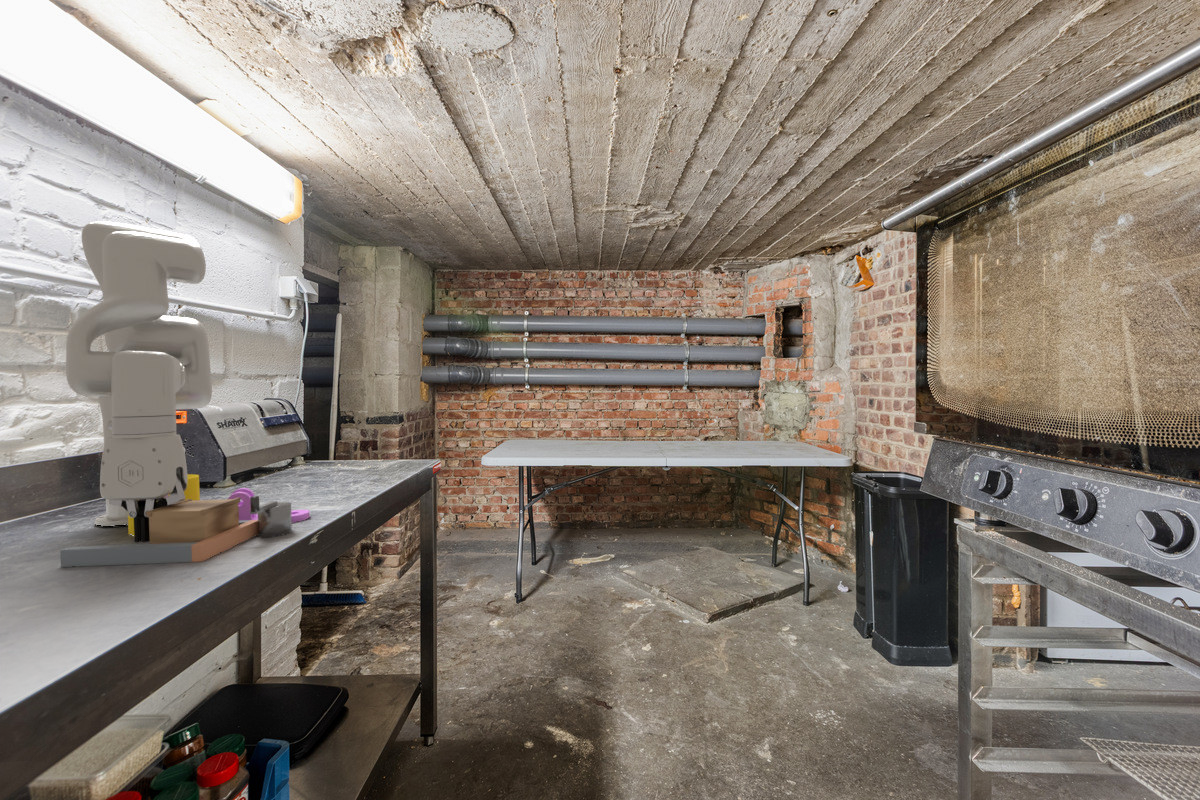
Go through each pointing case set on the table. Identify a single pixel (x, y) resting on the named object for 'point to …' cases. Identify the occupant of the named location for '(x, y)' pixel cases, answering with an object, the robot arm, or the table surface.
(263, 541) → the table surface
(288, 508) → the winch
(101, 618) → the table surface
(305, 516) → the bracket
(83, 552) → the bay
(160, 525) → the block
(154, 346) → the robot arm
